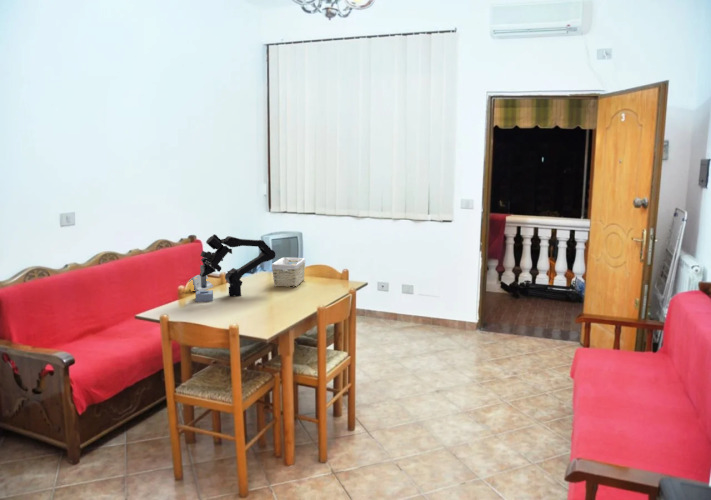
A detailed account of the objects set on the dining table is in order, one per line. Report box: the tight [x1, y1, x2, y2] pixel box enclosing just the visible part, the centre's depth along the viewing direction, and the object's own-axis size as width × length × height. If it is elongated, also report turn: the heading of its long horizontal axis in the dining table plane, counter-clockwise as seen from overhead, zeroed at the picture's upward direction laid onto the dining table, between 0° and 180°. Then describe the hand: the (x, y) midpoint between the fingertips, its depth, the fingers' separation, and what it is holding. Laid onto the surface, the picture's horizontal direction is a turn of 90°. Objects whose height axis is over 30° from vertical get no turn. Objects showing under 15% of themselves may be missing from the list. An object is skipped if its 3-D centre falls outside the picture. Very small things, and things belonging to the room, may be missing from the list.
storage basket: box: [271, 257, 306, 287], centre depth 350 cm, size 24×16×15 cm
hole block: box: [195, 289, 214, 303], centre depth 310 cm, size 9×9×4 cm
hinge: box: [188, 274, 214, 292], centre depth 334 cm, size 17×5×10 cm, turn 164°
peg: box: [199, 264, 207, 288], centre depth 308 cm, size 3×3×12 cm
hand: (201, 276), depth 307 cm, fingers closed on peg, 3 cm apart
